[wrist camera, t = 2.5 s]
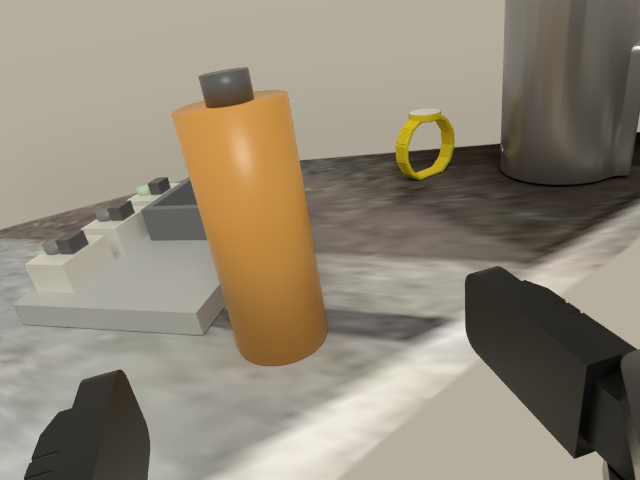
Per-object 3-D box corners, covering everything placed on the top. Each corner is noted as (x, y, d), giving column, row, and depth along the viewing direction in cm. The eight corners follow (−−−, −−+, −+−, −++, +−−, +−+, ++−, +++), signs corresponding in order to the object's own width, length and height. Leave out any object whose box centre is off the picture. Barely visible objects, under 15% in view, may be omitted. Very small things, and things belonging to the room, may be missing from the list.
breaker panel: (297, 209, 39) (288, 159, 37) (203, 335, 25) (180, 264, 23) (168, 213, 43) (153, 168, 41) (22, 324, 29) (-11, 262, 27)
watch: (438, 166, 45) (439, 104, 43) (459, 172, 43) (462, 107, 40) (390, 180, 42) (389, 114, 40) (411, 186, 40) (411, 117, 38)
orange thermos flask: (337, 308, 25) (297, 57, 20) (313, 369, 21) (255, 74, 16) (258, 305, 27) (199, 70, 21) (222, 362, 23) (137, 89, 17)
